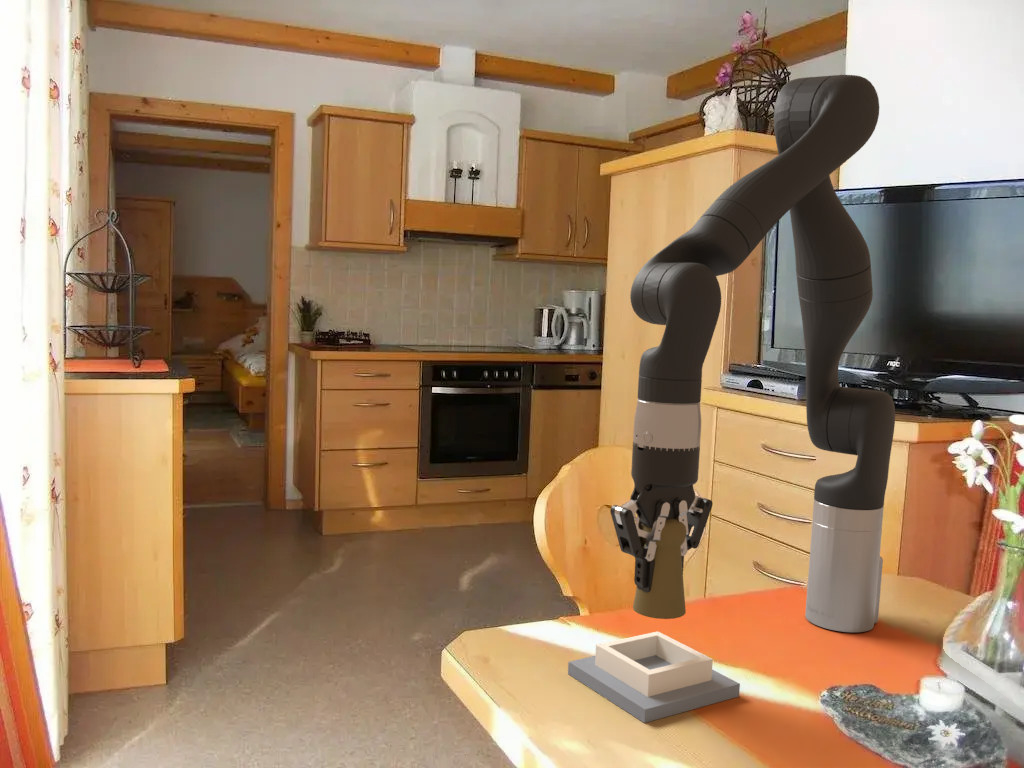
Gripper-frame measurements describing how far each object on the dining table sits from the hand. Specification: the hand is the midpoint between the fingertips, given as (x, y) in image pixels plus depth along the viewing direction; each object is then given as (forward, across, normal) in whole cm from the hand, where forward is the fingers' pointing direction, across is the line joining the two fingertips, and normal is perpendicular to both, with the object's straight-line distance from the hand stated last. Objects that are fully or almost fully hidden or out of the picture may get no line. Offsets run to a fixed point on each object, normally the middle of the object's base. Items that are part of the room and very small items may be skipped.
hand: (658, 587), depth 107 cm
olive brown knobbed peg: (+3, 0, 0) cm, 3 cm away
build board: (+12, 0, 0) cm, 12 cm away
